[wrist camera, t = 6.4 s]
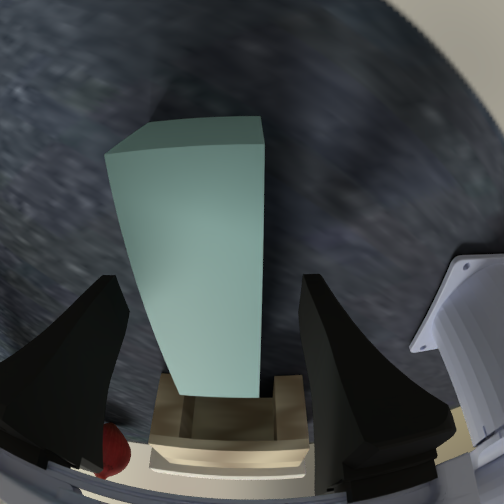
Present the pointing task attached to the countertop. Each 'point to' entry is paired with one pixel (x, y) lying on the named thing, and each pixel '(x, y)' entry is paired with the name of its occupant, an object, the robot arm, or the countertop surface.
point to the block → (231, 427)
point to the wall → (224, 470)
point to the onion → (114, 451)
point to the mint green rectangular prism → (197, 245)
